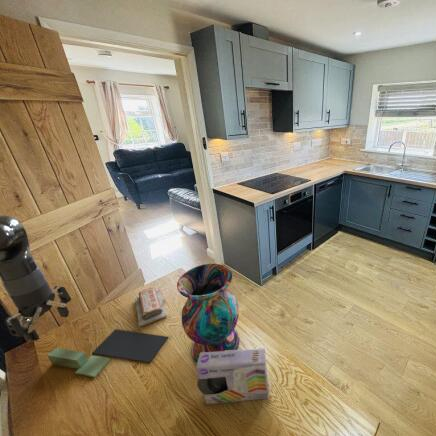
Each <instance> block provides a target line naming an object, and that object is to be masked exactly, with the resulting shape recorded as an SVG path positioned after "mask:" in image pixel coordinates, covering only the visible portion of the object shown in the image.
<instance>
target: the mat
mask: <svg viewBox="0 0 436 436" xmlns="http://www.w3.org/2000/svg"><path fill="white" fill-rule="evenodd" d="M168 339H169V336H165V335H159V334H151V333H143V332H137V331H129V330H123V329H116V328H115V329H114V330H113V331H112V332H111V333H110V334H109V335H108V336H107V337H106V338H105V339H104V340H103V341H102V342H101V343H100V344H99V345H98V346H97V347H96V348H95V349H94V350H93V351H92V352H91V354H92V355H97V356H103V357H109V358H118V359H123V360H128V361H129V360H130V361H136V362H141V363H149V364H151V362H152V361H153V360H154V359H155V357H156V355H158V352H159V351H160V350H161V349H162V347H163V346H164V344H165V343H166V342H167V340H168Z"/></svg>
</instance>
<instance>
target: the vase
mask: <svg viewBox="0 0 436 436" xmlns="http://www.w3.org/2000/svg"><path fill="white" fill-rule="evenodd" d="M232 280H233V272H232V270H231V269H230V268H229V267H227V266H226V265H223V264H219V263H206V264H201V265H200V264H199V265H197V266H194V267H192V268H190V269H188V270H187V271H186V272H185V273H183V274H182V275H181V276H180V277H179V279H178V280H177V283H176V288H177V289H176V290H177V291H178V293H179V294H180V295H181V296H182V297H184V298H186V301H185V303H184V305H183V306H182V310H181V325H182V328H183V331H184V333H185V334H186V336H187V337H188V338H189V340H190V341H192V347H191V355H192V358H193V360H194V361H195V362H196V363H197V362H198V359H199V355H200V353H201V352H220V351H225V350H238V347H239V345H240V336H239V333H238V331H237V330H236V326H237V323H238V321H239V320H238V319H239V312H240V311H239V310H240V309H239V308H240V307H239V304H238V301H237V298H236V296H235V295H234V293H233V292H232V291H230V290H229V289H228V287H229V286H230V284H232Z"/></svg>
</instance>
